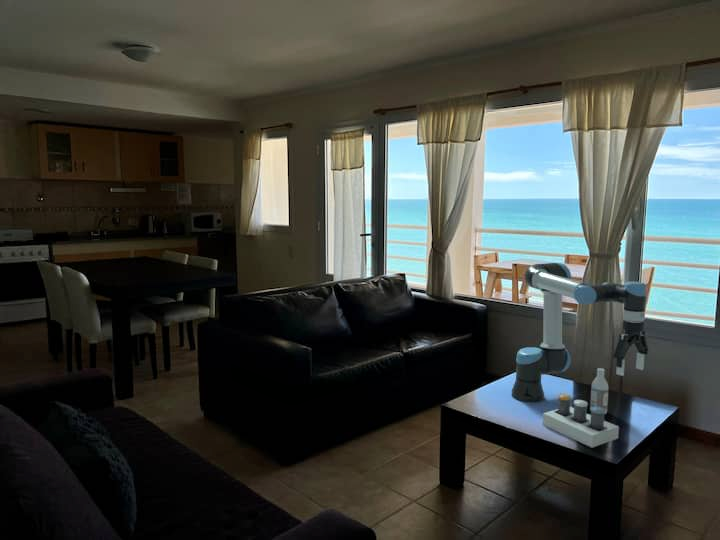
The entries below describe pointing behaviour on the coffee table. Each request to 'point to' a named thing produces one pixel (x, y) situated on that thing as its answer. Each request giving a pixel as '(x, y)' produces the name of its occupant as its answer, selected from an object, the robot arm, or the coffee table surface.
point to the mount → (580, 428)
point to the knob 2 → (580, 411)
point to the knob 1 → (564, 404)
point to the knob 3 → (597, 418)
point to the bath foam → (599, 391)
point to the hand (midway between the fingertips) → (629, 372)
